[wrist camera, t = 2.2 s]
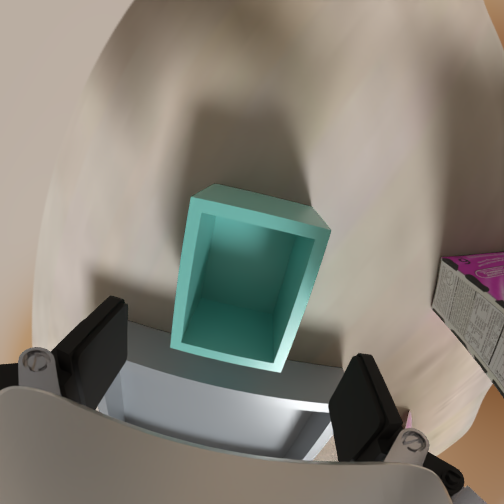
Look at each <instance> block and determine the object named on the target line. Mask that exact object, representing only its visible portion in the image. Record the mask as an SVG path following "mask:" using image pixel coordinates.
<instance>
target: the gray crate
mask: <svg viewBox="0 0 504 504" xmlns="http://www.w3.org/2000/svg"><path fill="white" fill-rule="evenodd" d="M170 345H171V333H167V332H164V331H160V330H157V329H154V328H150V327H147V326H144V325H141V324H137V323H134V322H131V321H128V327H127V351H128V355H127V360H126V362H125V364H124V366H123V367H122V369H121V370H120V372H119V373H118V375H117V376H116V378H115V379H114V381H113V383H112V384H111V386H110V387H109V389H108V390H107V392H106V393H105V395H104V397H103V398H102V400H101V401H100V403H99V405H98V409H99V412H101V413H103V414H106V415H108V416H111V417H114V418H116V419H119V420H122V421H124V422H127V423H130V424H132V425H135V426H138V427H141V428H144V429H147V430H150V431H153V432H156V433H159V434H163V435H166V436H169V437H173V438H177V439H180V440H184V441H188V442H192V443H196V444H200V445H204V446H209V447H213V448H218V449H223V450H228V451H233V452H239V453H245V454H251V455H258V456H266V457H274V458H283V459H294V460H307V461H312V460H313V459H314V458H315V457H316V456H317V454H318V453H319V452H320V451H321V449H322V448H323V447H324V446H325V444H326V443H327V442H328V440H329V439H330V438H331V436H332V435H333V429H332V424H331V419H330V414H329V409H328V404H329V400H330V398H331V397H332V395H333V393H334V391H335V390H336V388H337V386H338V384H339V382H340V380H341V378H342V377H343V375H344V371H343V368H338V367H330V366H323V365H316V364H309V363H303V362H297V361H291V360H286V361H285V364H284V366H283V369H282V371H281V373H280V372H274V371H268V370H263V369H258V368H253V367H248V366H243V365H238V364H233V363H229V362H224V361H220V360H216V359H212V358H207V357H203V356H199V355H195V354H192V353H188V352H184V351H180V350H177V349H173V348H170Z"/></svg>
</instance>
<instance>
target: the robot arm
mask: <svg viewBox="0 0 504 504" xmlns="http://www.w3.org/2000/svg"><path fill="white" fill-rule="evenodd" d="M127 327H128V305H127V304H125V302H124V300H123V299H121V298H118V297H115V296H109V297H108V298H107V299H106V300H105V301H104V302H103V303H102V304H101V305H100V306H99V307H97V308H96V309H95V310H94V311H93V312H92V313H91V314H90V315H89V316H88V317H87V318H86V319H84V320H83V321H81V322H80V323H79V324H78V325H77V326H76V327H75V328H74V329H73V330H72V331H71V332H70V333H69V334H68V335H67V336H66V337H65V338H64V339H63V340H62V341H61V342H60V343H59V344H58V345H57V346H56V347H55V348H54V349H53V350H52V351H51V352H50V351H48V350H47V349H44V348H41V347H34V348H29V349H27V350H25V351H24V352H22V354H21V355H20V357H19V361H18V363H13V364H1V365H0V504H487V503H486V502H484V500H483V499H481V498H480V497H479V496H478V495H477V494H476V493H475V492H474V491H473V490H472V489H471V488H470V487H468V486H466V487H464V477H463V475H462V473H461V472H460V471H459V470H458V469H456V468H455V467H454V466H452V465H450V464H448V463H446V462H445V461H443V460H441V459H439V458H438V457H436V456H434V455H433V454H431V453H429V452H428V450H429V441H428V439H427V437H426V436H425V435H424V434H423V433H422V432H420V431H419V430H417V429H414V428H405V429H403V428H402V424H403V422H402V420H401V418H400V415H399V413H398V411H397V408H396V406H395V404H394V402H393V399H392V397H391V395H390V393H389V390H388V388H387V386H386V384H385V382H384V379H383V377H382V375H381V373H380V371H379V369H378V367H377V364H376V362H375V360H374V358H373V356H372V355H369V354H361V353H359V354H357V356H353V357H352V359H351V361H350V363H349V365H348V367H347V369H346V371H345V373H344V375H343V377H342V378H341V380H340V382H339V384H338V386H337V388H336V390H335V391H334V393H333V395H332V397H331V398H330V400H329V404H328V409H329V414H330V419H331V424H332V429H333V434H334V439H335V445H336V450H337V456H338V461H339V462H332V461H307V460H294V459H283V458H274V457H266V456H258V455H251V454H245V453H239V452H233V451H228V450H223V449H218V448H213V447H209V446H204V445H200V444H196V443H192V442H188V441H184V440H180V439H177V438H173V437H169V436H166V435H163V434H159V433H156V432H153V431H150V430H147V429H144V428H141V427H138V426H135V425H132V424H130V423H127V422H124V421H122V420H119V419H116V418H114V417H111V416H108V415H106V414H103V413H101V412H98V411H96V410H95V409H96V408H97V406H98V405H99V403H100V401H101V400H102V398H103V397H104V395H105V393H106V392H107V390H108V389H109V387H110V386H111V384H112V383H113V381H114V379H115V378H116V376H117V375H118V373H119V372H120V370H121V369H122V367H123V366H124V364H125V362H126V360H127V355H128V351H127Z"/></svg>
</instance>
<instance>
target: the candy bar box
mask: <svg viewBox="0 0 504 504" xmlns="http://www.w3.org/2000/svg"><path fill="white" fill-rule="evenodd" d="M432 310H433V311H434V312H435V313H436V314H437V315H438V316H439V317H440V319H441V320H442V321H443V322H444V323H445V324H446V325H447V327H448V328H449V329H450V330H451V331H452V332H453V333H454V335H455V336H456V337H457V338H458V339H459V341H460V342H461V343H462V344H463V345H464V347H465V348H466V349H467V350H468V352H469V353H470V354H471V355H472V357H473V358H474V359H475V360H476V361H477V363H478V364H479V365H480V366H481V368H482V370H483V371H484V372H485V373H486V375H487V376H488V377H489V379H490V380H491V381H492V383H493V384H494V385H495V386H496V388H497V389H498V391H499V392H500V394H501V395H502V396H503V398H504V252H496V253H485V254H475V255H463V256H451V257H441V259H440V264H439V269H438V278H437V284H436V289H435V293H434V298H433V303H432Z"/></svg>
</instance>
